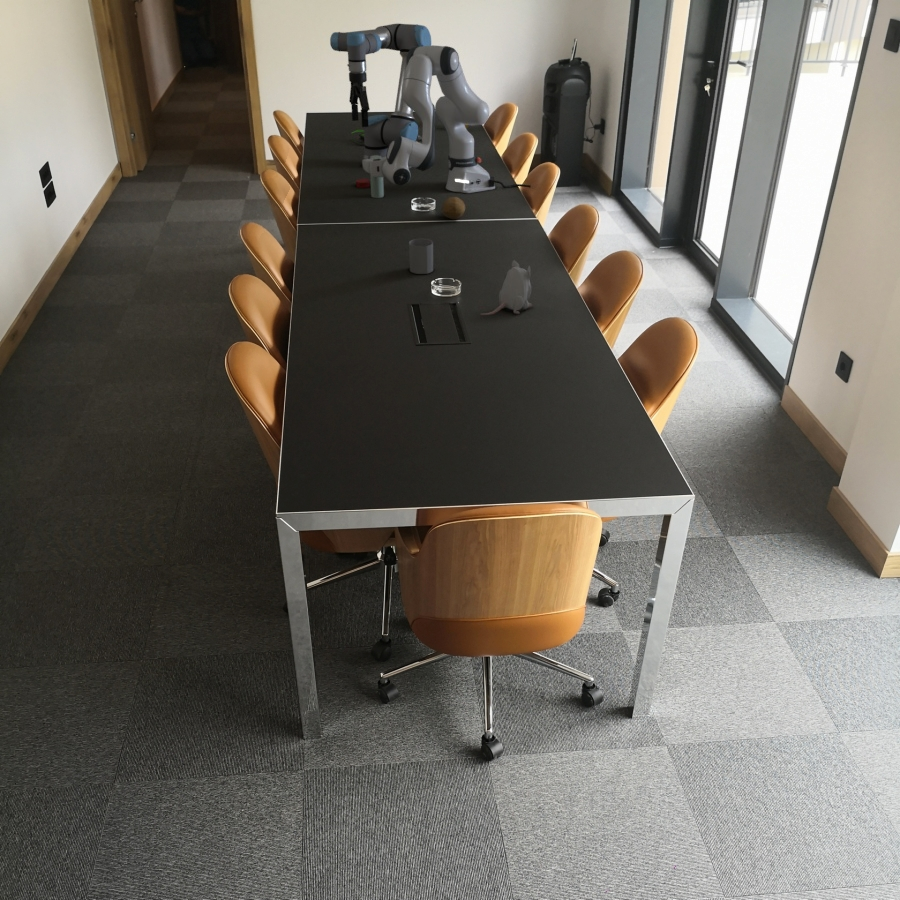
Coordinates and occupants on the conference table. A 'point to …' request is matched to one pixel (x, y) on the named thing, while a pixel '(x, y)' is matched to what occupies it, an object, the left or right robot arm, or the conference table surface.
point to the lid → (362, 183)
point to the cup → (421, 256)
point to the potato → (453, 208)
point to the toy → (515, 290)
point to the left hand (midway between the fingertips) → (360, 123)
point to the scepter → (359, 138)
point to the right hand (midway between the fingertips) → (382, 158)
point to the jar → (377, 184)
